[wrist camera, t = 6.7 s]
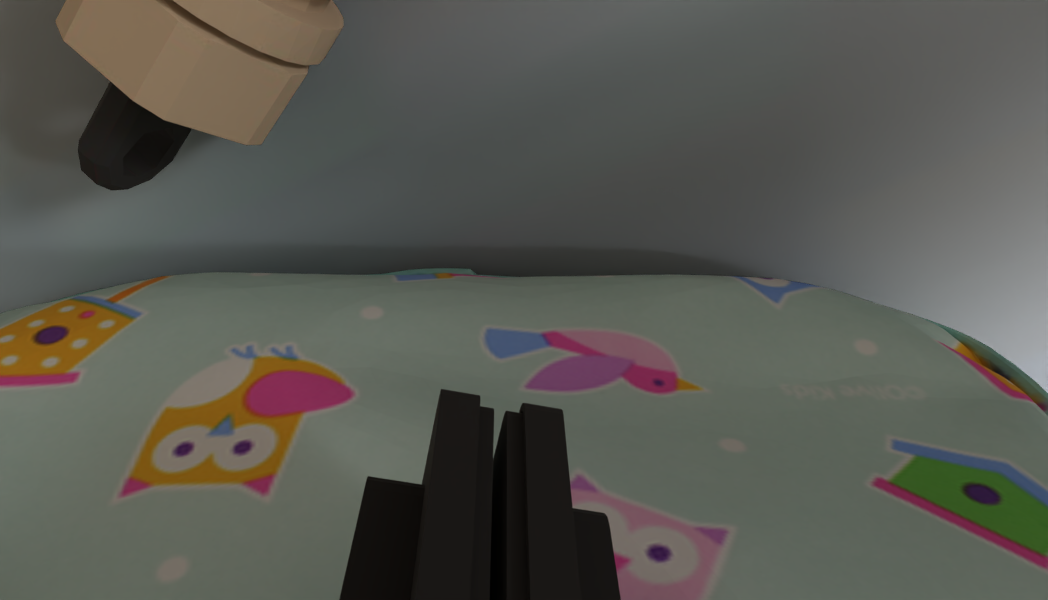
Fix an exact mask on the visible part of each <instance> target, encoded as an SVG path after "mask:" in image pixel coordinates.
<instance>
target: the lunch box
mask: <svg viewBox="0 0 1048 600" xmlns="http://www.w3.org/2000/svg"><path fill="white" fill-rule="evenodd" d="M441 389H445V390H451V391H457V392H463V393H469V394H475V395H480V406H482V407H488V408H494V443H493V458H494V454H495V450H496V446H497V441H498V437H499V433H500V429H501V425H502V421H503V417H504V414H505V411H512V412H518V413H519V410H520V407H521V405H522V403H529V404H535V405H541V406H547V407H553V408H558V409H562V410H563V414H564V424H565V435H566V445H567V455H568V465H569V475H570V486H571V496H572V506H573V508H576V509H582V510H589V511H595V512H602V513H605V514H606V515H607V517H608V521H609V525H610V531H611V538H612V544H613V551H614V558H615V564H616V571H617V577H618V584H619V591H620V597H621V600H1048V393H1047V392H1046V391H1045V390H1044V389H1043V388H1042V387H1041V386H1040V385H1039V384H1038V383H1036V382H1035V381H1034V380H1033V379H1032V378H1030V377H1029V376H1028V375H1027V374H1025V373H1024V372H1023V371H1022V370H1020V369H1019V368H1018V367H1017V366H1016V365H1014V364H1013V363H1011V362H1010V361H1008V360H1007V359H1006V358H1004V357H1003V356H1001V355H1000V354H998V353H997V352H996V351H994V350H993V349H991V348H990V347H988V346H987V345H985V344H983V343H981V342H979V341H977V340H975V339H973V338H971V337H969V336H967V335H965V334H963V333H961V332H958V331H956V330H954V329H951V328H948V327H946V326H943V325H940V324H938V323H935V322H932V321H930V320H927V319H924V318H921V317H917V316H915V315H913V314H909V313H906V312H903V311H899V310H896V309H893V308H890V307H886V306H883V305H880V304H877V303H873V302H870V301H867V300H864V299H861V298H858V297H855V296H852V295H849V294H846V293H843V292H840V291H837V290H833V289H828V288H824V287H820V286H815V285H811V284H806V283H800V282H793V281H787V280H781V279H774V278H757V277H740V276H715V275H613V276H538V277H508V276H493V275H477V274H476V273H474V272H473V271H472V270H471V269H464V268H429V269H412V270H405V271H398V272H392V273H385V274H370V275H339V274H291V273H233V272H208V273H191V274H180V275H170V276H161V277H156V278H151V279H146V280H141V281H136V282H131V283H126V284H122V285H117V286H113V287H109V288H104V289H99V290H94V291H90V292H85V293H81V294H77V295H73V296H70V297H66V298H62V299H59V300H55V301H51V302H47V303H42V304H36V305H31V306H25V307H22V308H19V309H13V310H10V311H7V312H3V313H0V600H339V599H340V594H341V590H342V585H343V581H344V576H345V572H346V568H347V563H348V559H349V554H350V550H351V545H352V541H353V537H354V532H355V528H356V523H357V519H358V515H359V510H360V506H361V501H362V497H363V492H364V488H365V484H366V480H367V477H368V476H371V477H377V478H383V479H390V480H396V481H403V482H409V483H415V484H422V480H423V475H424V470H425V465H426V460H427V455H428V450H429V445H430V440H431V435H432V430H433V425H434V420H435V414H436V409H437V404H438V399H439V395H440V391H441Z"/></svg>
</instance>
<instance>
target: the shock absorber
mask: <svg viewBox="0 0 1048 600" xmlns="http://www.w3.org/2000/svg"><path fill="white" fill-rule="evenodd" d="M55 22H56V24H57V27H58V29H59V32H60V34H61V36H62V39H63V41H65V42H66V43H67V44H68V45H69V46H70V47H71V48H73V49H74V50H75V51H76V52H77V53H78V54H80V55H81V56H82V57H83V58H84V59H85V60H86V61H88V62H89V63H90V64H91V65H92V66H93V67H95V68H96V69H97V70H98V71H99V72H100V73H101V74H103V75H104V76H105V77H106V78H107V79H108V80H110V83H109V85H108V87H107V89H106V91H105V93H104V95H103V97H102V98H101V100H100V102H99V104H98V106H97V108H96V110H95V112H94V114H93V115H92V117H91V119H90V121H89V123H88V125H87V127H86V129H85V131H84V132H83V134H82V136H81V138H80V140H79V146H78V153H79V159H80V165H81V170H82V171H83V172H84V173H85V174H86V175H87V176H88V177H89V178H90V179H92V180H93V181H94V182H95V183H96V184H97V185H100V186H102V187H105V188H107V189H109V190H124V189H129V188H132V187H134V186H136V185H139V184H141V183H143V182H146V181H148V180H150V179H152V178H153V177H154V176H155V175H156V174H158V173H159V172H160V171H161V170H162V169H163V168H165V167H166V166H167V165H168V164H169V163H170V162H171V161H172V160H173V159H174V157H175V155H176V154H177V152H178V151H179V149H180V147H181V146H182V144H183V142H184V141H185V139H186V138H187V136H188V134H189V133H190V131H191V129H195V130H198V131H202V132H205V133H208V134H211V135H215V136H218V137H221V138H225V139H228V140H231V141H234V142H238V143H241V144H244V145H261V144H262V143H263V141H264V140H265V138H266V136H267V135H268V133H269V132H270V130H271V129H272V127H273V126H274V124H275V123H276V121H277V120H278V118H279V116H280V115H281V113H282V112H283V110H284V109H285V107H286V106H287V104H288V103H289V101H290V100H291V98H292V97H293V95H294V93H295V92H296V90H297V89H298V87H299V86H300V84H301V83H302V81H303V80H304V78H305V77H306V75H307V73H308V68H309V65H317V64H319V63H320V62H321V61H322V60H323V59H324V58H325V57H326V55H327V53H328V51H329V50H330V48H331V46H332V45H333V43H334V41H335V40H336V38H337V36H338V35H339V33H340V31H341V30H342V28H343V17H342V15H341V13H340V11H339V9H338V8H337V6H336V5H335V4H334V2H333V1H332V0H66V1H65V3H64V5H63V7H62V9H61V11H60V13H59V15H58V17H57V19H56V21H55Z"/></svg>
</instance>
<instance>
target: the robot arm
mask: <svg viewBox="0 0 1048 600" xmlns="http://www.w3.org/2000/svg"><path fill="white" fill-rule="evenodd" d="M493 443H494V408H488V407H482V406H480V395H475V394H469V393H463V392H457V391H451V390H445V389H441V391H440V395H439V399H438V404H437V409H436V414H435V420H434V425H433V430H432V435H431V440H430V445H429V450H428V455H427V460H426V465H425V470H424V475H423V480H422V484H415V483H409V482H403V481H396V480H390V479H383V478H377V477H371V476H368V477H367V480H366V484H365V488H364V492H363V497H362V501H361V506H360V510H359V515H358V519H357V523H356V528H355V532H354V537H353V541H352V545H351V550H350V554H349V559H348V563H347V568H346V572H345V576H344V581H343V585H342V590H341V594H340V599H339V600H621V597H620V591H619V584H618V577H617V571H616V564H615V558H614V551H613V544H612V538H611V531H610V525H609V521H608V517H607V515H606V514H605V513H602V512H595V511H589V510H582V509H576V508H573V506H572V496H571V486H570V475H569V465H568V455H567V445H566V435H565V424H564V414H563V410H562V409H558V408H553V407H547V406H541V405H535V404H529V403H522V405H521V407H520V410H519V413H518V412H512V411H505V414H504V417H503V421H502V425H501V429H500V433H499V437H498V441H497V446H496V450H495V454H494V458H493Z"/></svg>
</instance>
